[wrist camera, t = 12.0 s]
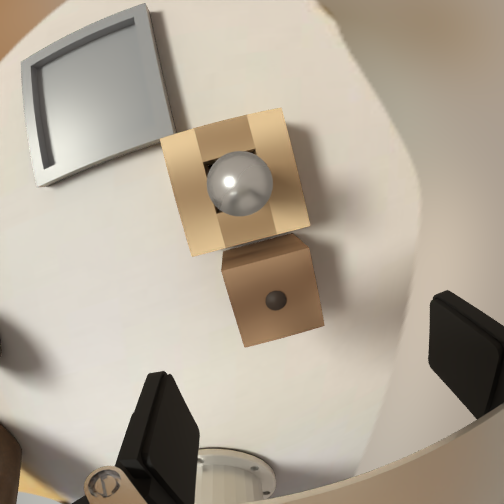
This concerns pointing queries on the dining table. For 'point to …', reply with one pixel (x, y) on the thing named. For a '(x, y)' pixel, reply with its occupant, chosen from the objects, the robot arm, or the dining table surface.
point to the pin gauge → (239, 183)
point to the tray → (94, 96)
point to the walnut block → (272, 289)
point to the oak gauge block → (207, 152)
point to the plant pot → (9, 467)
